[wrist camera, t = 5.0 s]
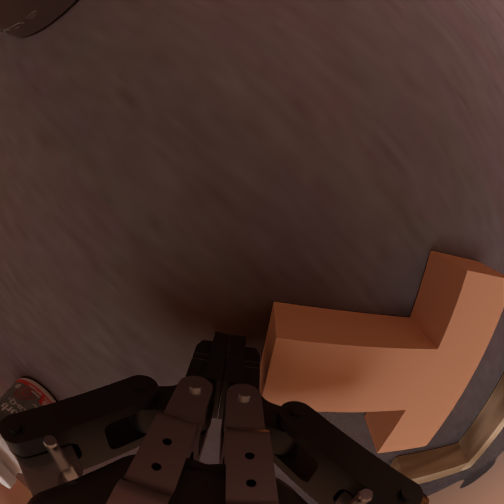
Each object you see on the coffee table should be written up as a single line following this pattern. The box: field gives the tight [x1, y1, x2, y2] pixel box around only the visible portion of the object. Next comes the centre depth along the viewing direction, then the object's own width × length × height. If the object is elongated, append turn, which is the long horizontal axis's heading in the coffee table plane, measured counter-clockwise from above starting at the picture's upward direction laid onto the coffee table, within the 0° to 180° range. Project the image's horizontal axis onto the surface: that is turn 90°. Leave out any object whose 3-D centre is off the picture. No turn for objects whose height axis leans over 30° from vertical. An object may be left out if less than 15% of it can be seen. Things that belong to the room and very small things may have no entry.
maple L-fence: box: [389, 373, 504, 484], centre depth 14 cm, size 20×10×4 cm, turn 172°
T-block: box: [260, 251, 504, 453], centre depth 13 cm, size 12×12×4 cm
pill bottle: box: [0, 378, 56, 488], centre depth 13 cm, size 6×6×10 cm
